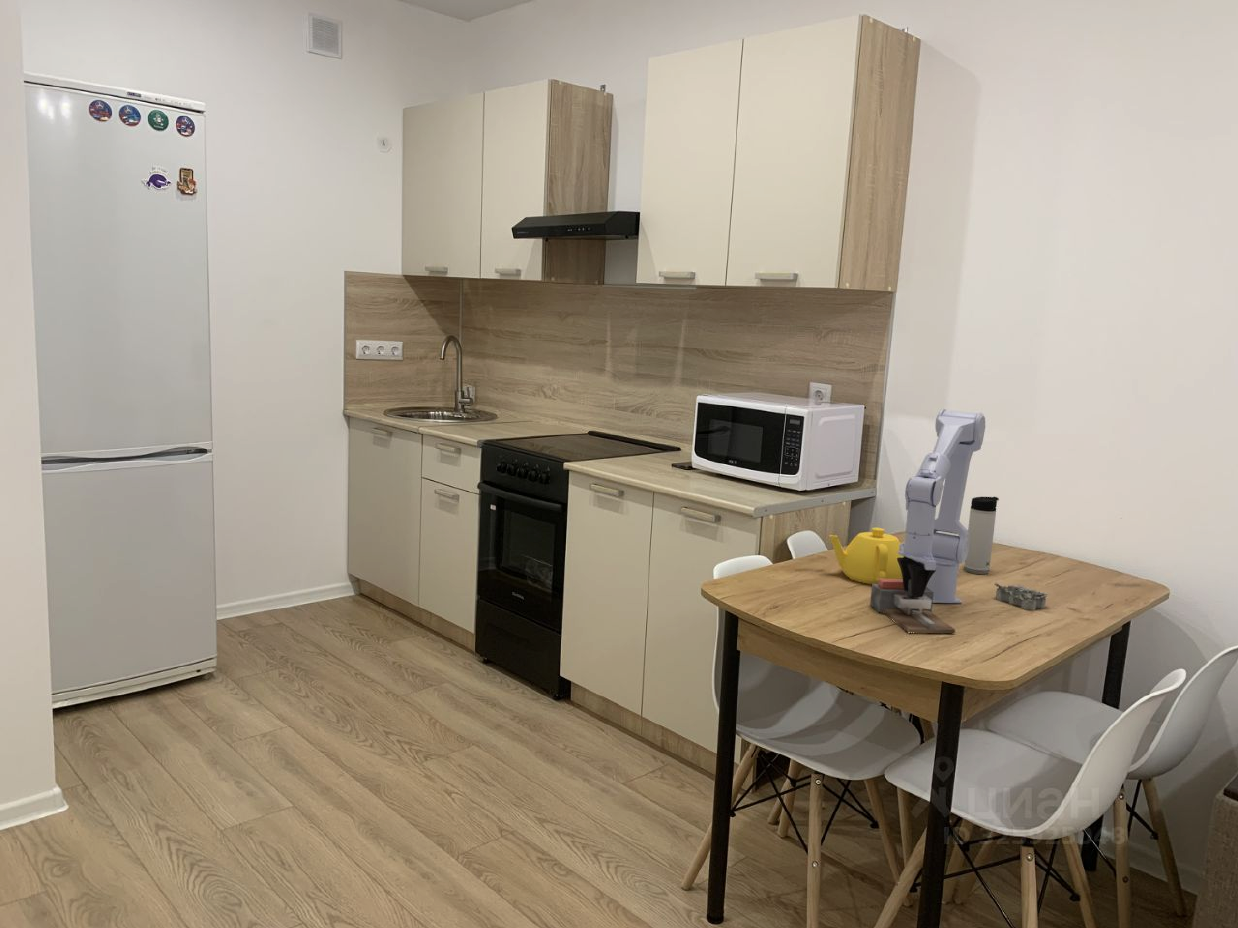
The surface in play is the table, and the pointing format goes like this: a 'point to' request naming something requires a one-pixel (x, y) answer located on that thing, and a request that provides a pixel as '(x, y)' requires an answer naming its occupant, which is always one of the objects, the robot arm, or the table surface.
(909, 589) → the carriage
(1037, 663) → the table surface
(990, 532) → the travel mug
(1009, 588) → the egg carton
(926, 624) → the rail stand
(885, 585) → the bar
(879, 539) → the teapot
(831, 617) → the table surface
